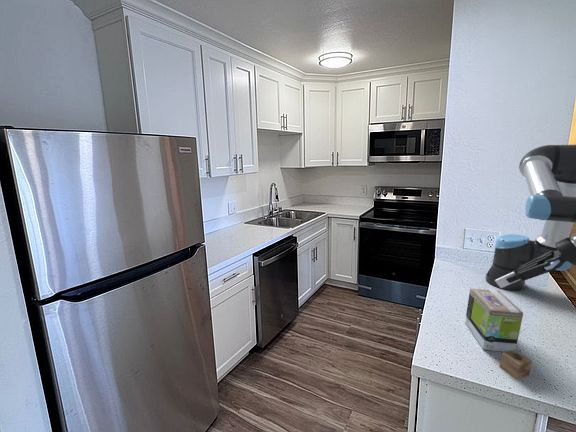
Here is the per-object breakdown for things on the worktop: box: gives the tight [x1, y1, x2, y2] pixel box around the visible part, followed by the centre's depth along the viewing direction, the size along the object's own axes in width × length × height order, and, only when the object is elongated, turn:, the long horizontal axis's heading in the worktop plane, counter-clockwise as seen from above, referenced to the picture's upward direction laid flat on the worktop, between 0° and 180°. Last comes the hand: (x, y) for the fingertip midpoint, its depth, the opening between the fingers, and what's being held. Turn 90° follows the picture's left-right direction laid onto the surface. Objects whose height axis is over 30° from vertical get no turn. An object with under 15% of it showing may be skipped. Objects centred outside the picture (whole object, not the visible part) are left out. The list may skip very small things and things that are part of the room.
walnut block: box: [499, 349, 533, 380], centre depth 87 cm, size 5×5×5 cm
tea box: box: [464, 288, 524, 353], centre depth 100 cm, size 15×10×15 cm, turn 170°
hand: (498, 283), depth 97 cm, fingers closed
